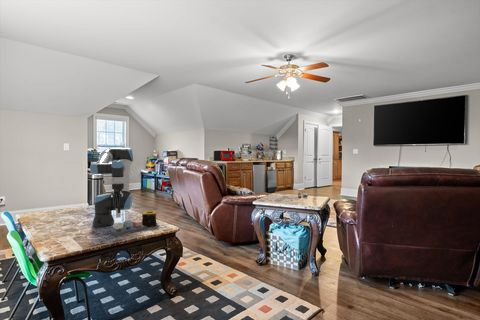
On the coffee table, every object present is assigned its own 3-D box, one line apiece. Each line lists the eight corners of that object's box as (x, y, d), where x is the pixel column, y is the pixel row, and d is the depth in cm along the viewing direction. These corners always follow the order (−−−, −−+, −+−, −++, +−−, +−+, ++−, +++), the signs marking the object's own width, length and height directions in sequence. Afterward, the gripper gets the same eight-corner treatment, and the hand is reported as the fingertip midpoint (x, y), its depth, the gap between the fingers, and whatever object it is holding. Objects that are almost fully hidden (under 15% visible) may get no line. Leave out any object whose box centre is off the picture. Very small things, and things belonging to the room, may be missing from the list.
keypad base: (108, 232, 189) (108, 229, 189) (138, 226, 206) (138, 223, 206) (116, 236, 182) (116, 233, 182) (146, 229, 199) (146, 226, 199)
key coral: (132, 228, 199) (132, 221, 199) (138, 227, 203) (138, 220, 202) (136, 229, 196) (136, 222, 196) (141, 228, 200) (141, 221, 199)
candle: (141, 227, 203) (141, 214, 202) (142, 223, 213) (142, 211, 212) (156, 226, 206) (155, 213, 205) (156, 223, 215) (156, 210, 215)
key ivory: (113, 230, 188) (113, 223, 188) (120, 229, 192) (120, 222, 192) (116, 232, 185) (116, 225, 185) (123, 230, 189) (123, 223, 189)
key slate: (123, 228, 194) (123, 221, 193) (129, 227, 197) (129, 220, 197) (126, 229, 191) (126, 222, 191) (132, 228, 194) (132, 221, 194)
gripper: (107, 183, 189) (108, 216, 189) (117, 184, 180) (117, 219, 181) (118, 182, 194) (119, 215, 195) (127, 183, 186) (128, 217, 187)
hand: (118, 217), depth 188 cm, fingers closed
